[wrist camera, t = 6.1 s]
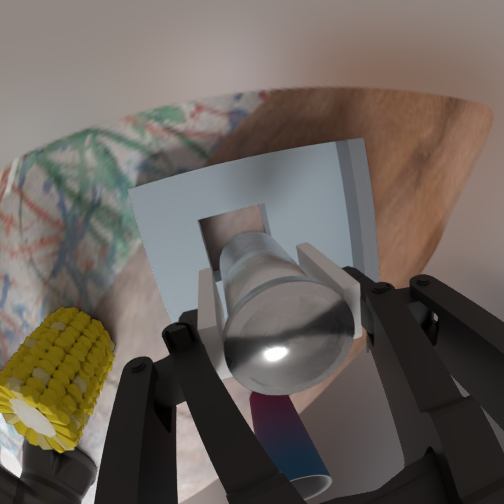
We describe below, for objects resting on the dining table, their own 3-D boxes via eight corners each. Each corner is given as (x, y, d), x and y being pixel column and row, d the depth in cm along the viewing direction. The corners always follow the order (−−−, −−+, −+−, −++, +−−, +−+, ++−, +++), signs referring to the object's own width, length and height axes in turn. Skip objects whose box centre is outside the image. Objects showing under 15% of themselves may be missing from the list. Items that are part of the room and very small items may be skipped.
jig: (177, 318, 30) (174, 347, 24) (135, 187, 25) (119, 192, 20) (354, 268, 31) (379, 286, 26) (336, 141, 27) (363, 137, 22)
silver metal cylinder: (224, 304, 21) (242, 407, 11) (204, 236, 19) (206, 307, 10) (294, 285, 21) (355, 371, 12) (281, 216, 19) (350, 266, 10)
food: (132, 350, 32) (71, 362, 31) (79, 273, 25) (19, 296, 25) (122, 467, 19) (50, 462, 18) (27, 402, 12) (-33, 401, 12)
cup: (244, 380, 33) (269, 482, 19) (297, 376, 35) (340, 468, 20) (241, 415, 35) (261, 507, 21) (289, 411, 36) (322, 497, 22)
